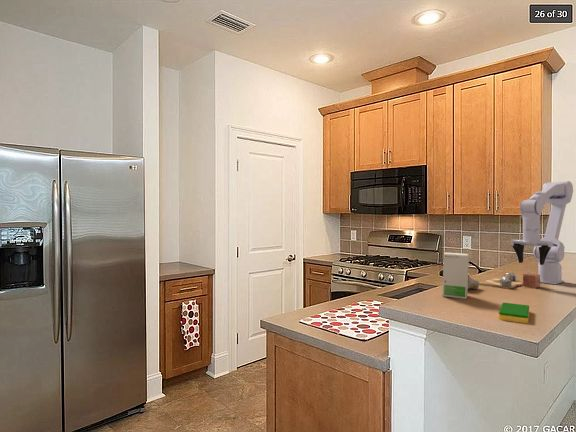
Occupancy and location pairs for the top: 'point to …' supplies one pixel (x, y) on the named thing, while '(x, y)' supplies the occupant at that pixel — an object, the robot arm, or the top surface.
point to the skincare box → (455, 275)
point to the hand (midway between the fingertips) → (531, 263)
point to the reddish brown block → (531, 280)
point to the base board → (496, 283)
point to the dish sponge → (514, 312)
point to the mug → (472, 283)
